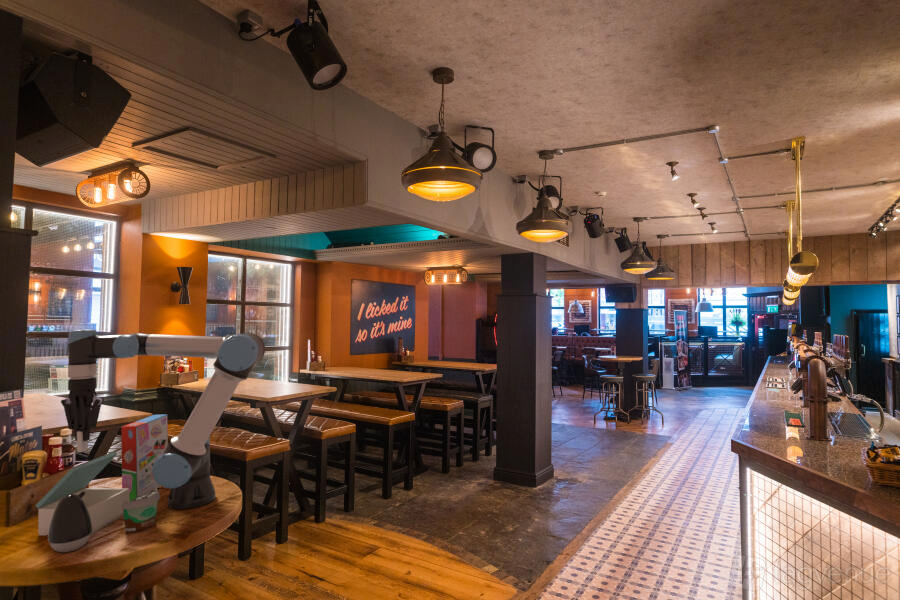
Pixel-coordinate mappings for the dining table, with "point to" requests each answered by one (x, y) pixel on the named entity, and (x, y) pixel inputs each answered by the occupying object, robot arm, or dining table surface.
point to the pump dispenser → (70, 524)
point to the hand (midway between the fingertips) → (82, 450)
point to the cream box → (91, 507)
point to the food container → (141, 512)
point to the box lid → (76, 479)
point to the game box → (142, 453)
